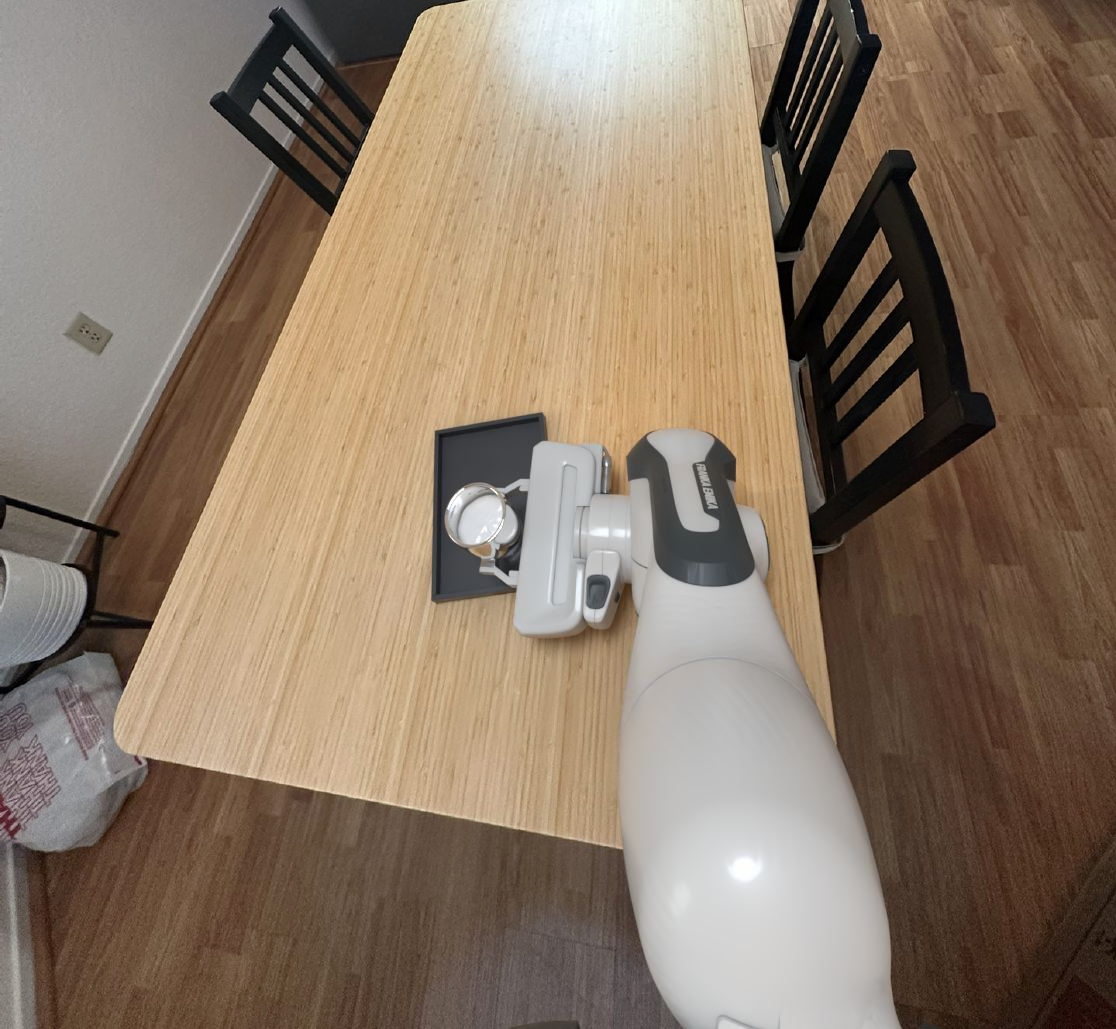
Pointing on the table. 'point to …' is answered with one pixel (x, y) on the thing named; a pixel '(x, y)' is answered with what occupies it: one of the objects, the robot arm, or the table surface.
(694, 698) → the robot arm
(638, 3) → the table surface
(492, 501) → the silver goblet
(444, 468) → the tray
